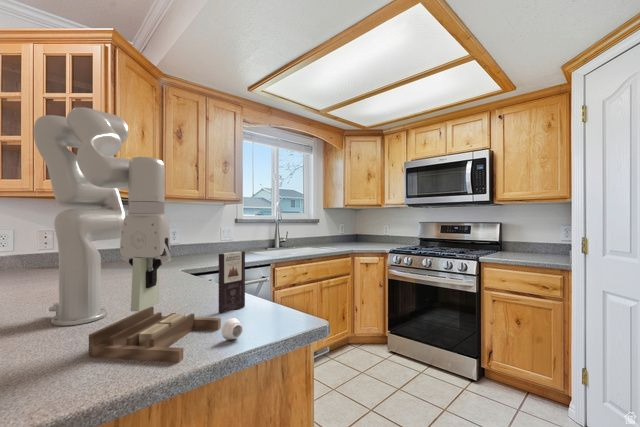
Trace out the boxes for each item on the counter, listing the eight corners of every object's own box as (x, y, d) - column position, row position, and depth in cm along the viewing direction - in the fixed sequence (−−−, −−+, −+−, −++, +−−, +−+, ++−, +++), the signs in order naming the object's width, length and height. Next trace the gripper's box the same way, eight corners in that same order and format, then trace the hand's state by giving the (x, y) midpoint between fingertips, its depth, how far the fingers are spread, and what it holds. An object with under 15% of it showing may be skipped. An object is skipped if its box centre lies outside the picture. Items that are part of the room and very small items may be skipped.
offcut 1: (139, 354, 66) (139, 333, 66) (156, 342, 72) (156, 323, 72) (152, 354, 66) (152, 334, 66) (168, 343, 72) (168, 324, 72)
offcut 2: (159, 340, 73) (159, 322, 73) (174, 331, 79) (174, 313, 79) (171, 341, 73) (171, 322, 73) (185, 331, 79) (185, 314, 79)
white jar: (238, 335, 76) (238, 315, 76) (245, 338, 74) (245, 317, 74) (220, 342, 72) (220, 320, 72) (228, 345, 70) (228, 323, 70)
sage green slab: (130, 311, 69) (133, 258, 70) (150, 303, 76) (152, 255, 77) (138, 311, 69) (141, 258, 70) (158, 303, 76) (160, 255, 77)
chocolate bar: (220, 313, 93) (220, 254, 93) (218, 312, 93) (218, 254, 93) (244, 306, 100) (244, 251, 100) (243, 306, 100) (243, 251, 100)
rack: (88, 358, 64) (88, 334, 64) (150, 324, 83) (150, 306, 83) (179, 363, 62) (179, 338, 62) (220, 327, 81) (220, 309, 81)
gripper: (103, 209, 70) (103, 289, 70) (168, 209, 68) (167, 292, 68) (127, 209, 77) (127, 282, 77) (186, 210, 76) (185, 284, 76)
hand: (146, 286), depth 73 cm, fingers closed
